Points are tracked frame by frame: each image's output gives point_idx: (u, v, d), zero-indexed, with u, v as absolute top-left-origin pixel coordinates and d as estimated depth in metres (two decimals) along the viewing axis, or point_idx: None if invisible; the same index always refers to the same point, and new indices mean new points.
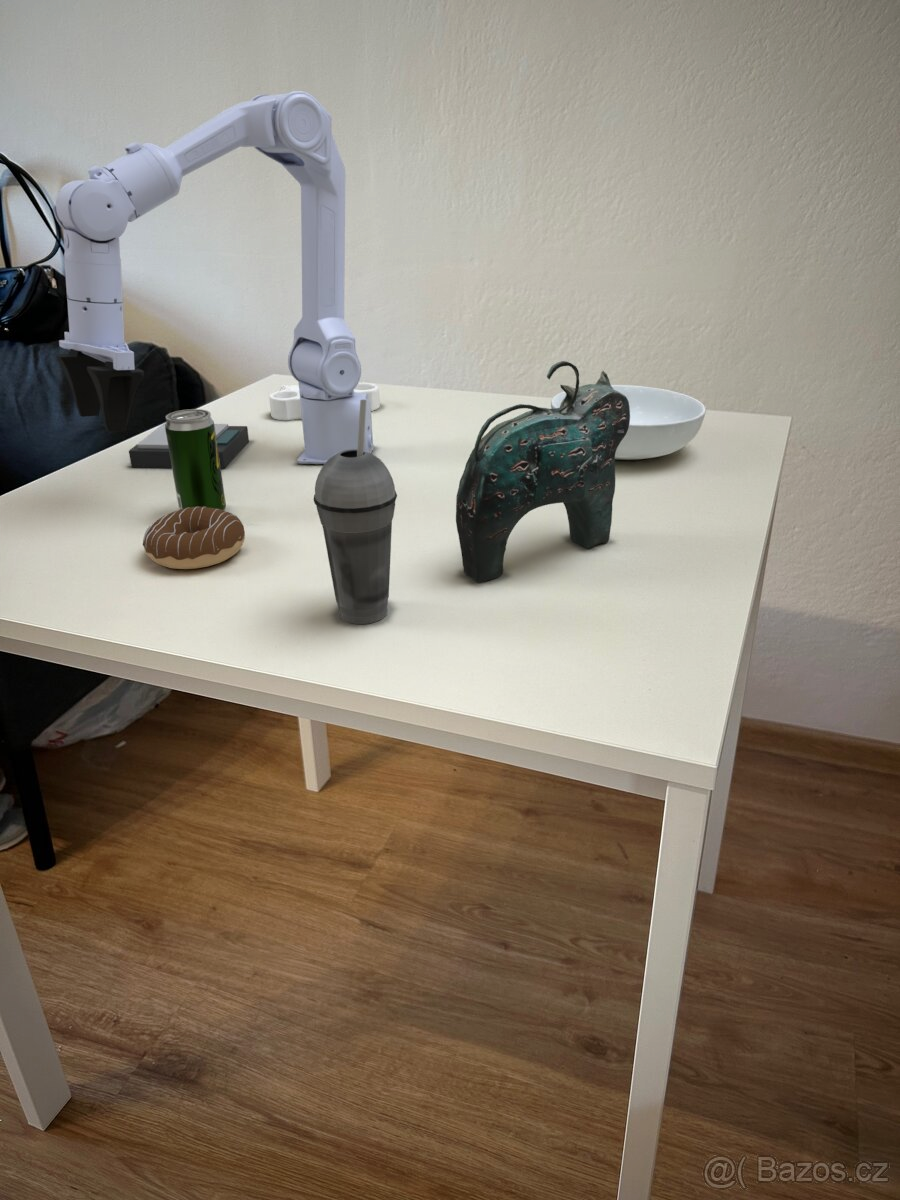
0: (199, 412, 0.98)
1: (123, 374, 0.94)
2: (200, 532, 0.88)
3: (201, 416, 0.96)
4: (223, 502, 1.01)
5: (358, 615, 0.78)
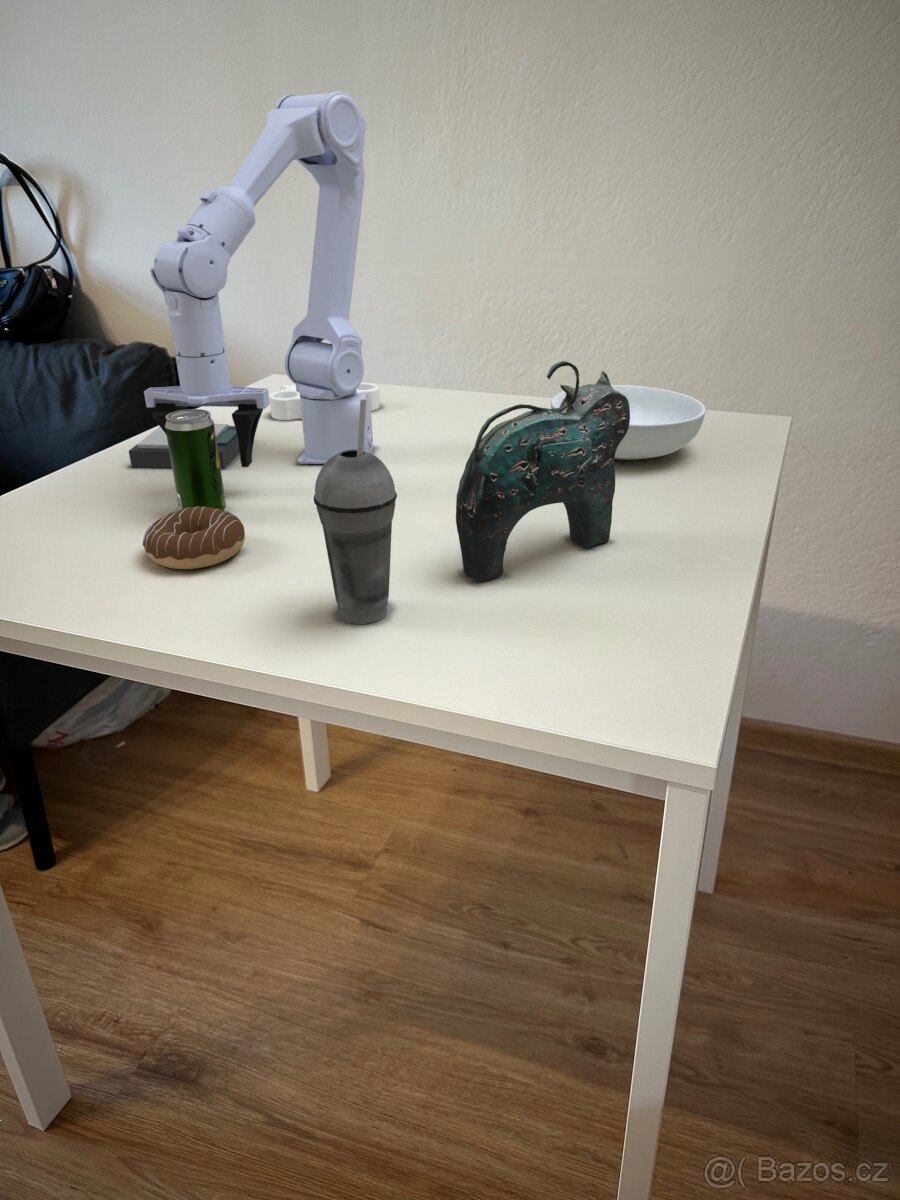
0: (199, 412, 0.98)
1: (259, 411, 1.03)
2: (200, 532, 0.88)
3: (201, 416, 0.96)
4: (223, 502, 1.01)
5: (358, 615, 0.78)
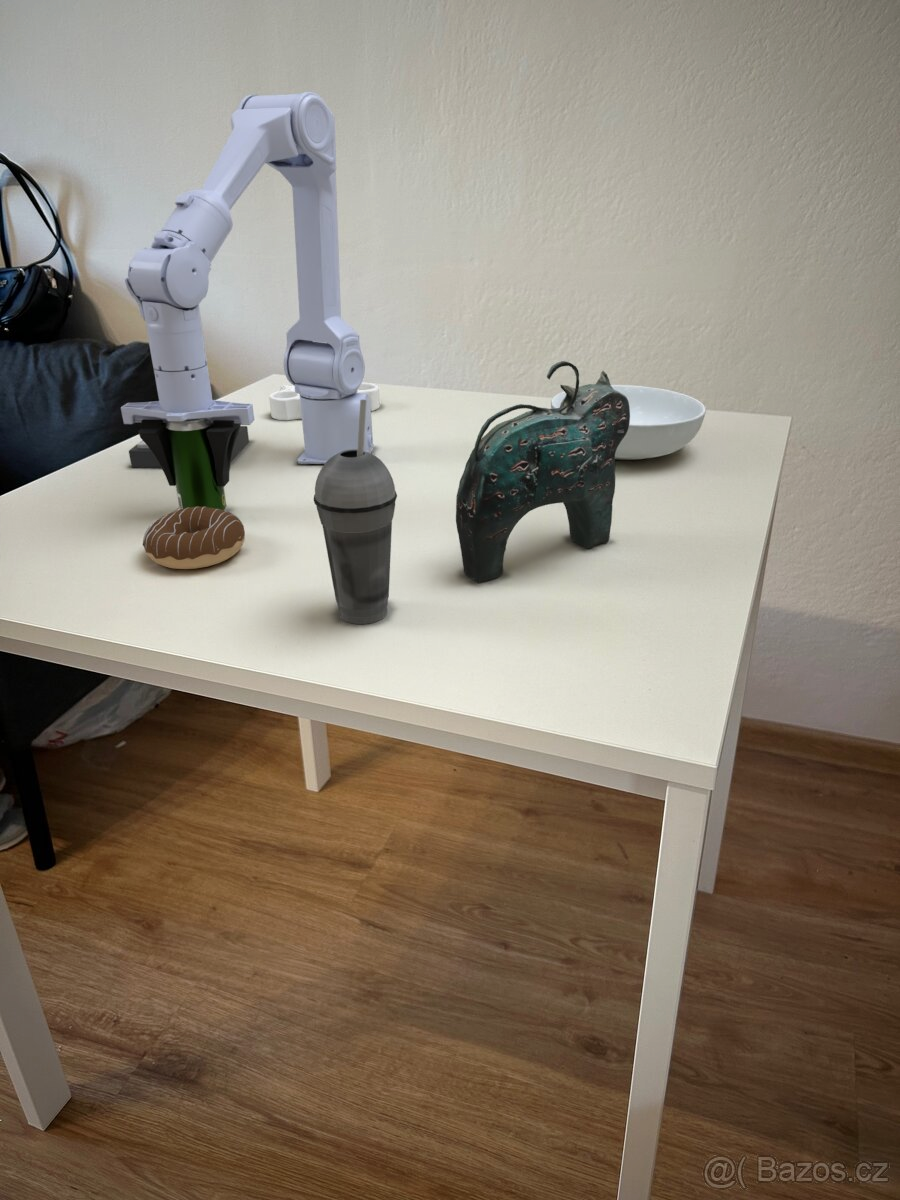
0: None
1: (236, 427, 0.97)
2: (200, 532, 0.88)
3: None
4: (223, 502, 1.01)
5: (358, 615, 0.78)
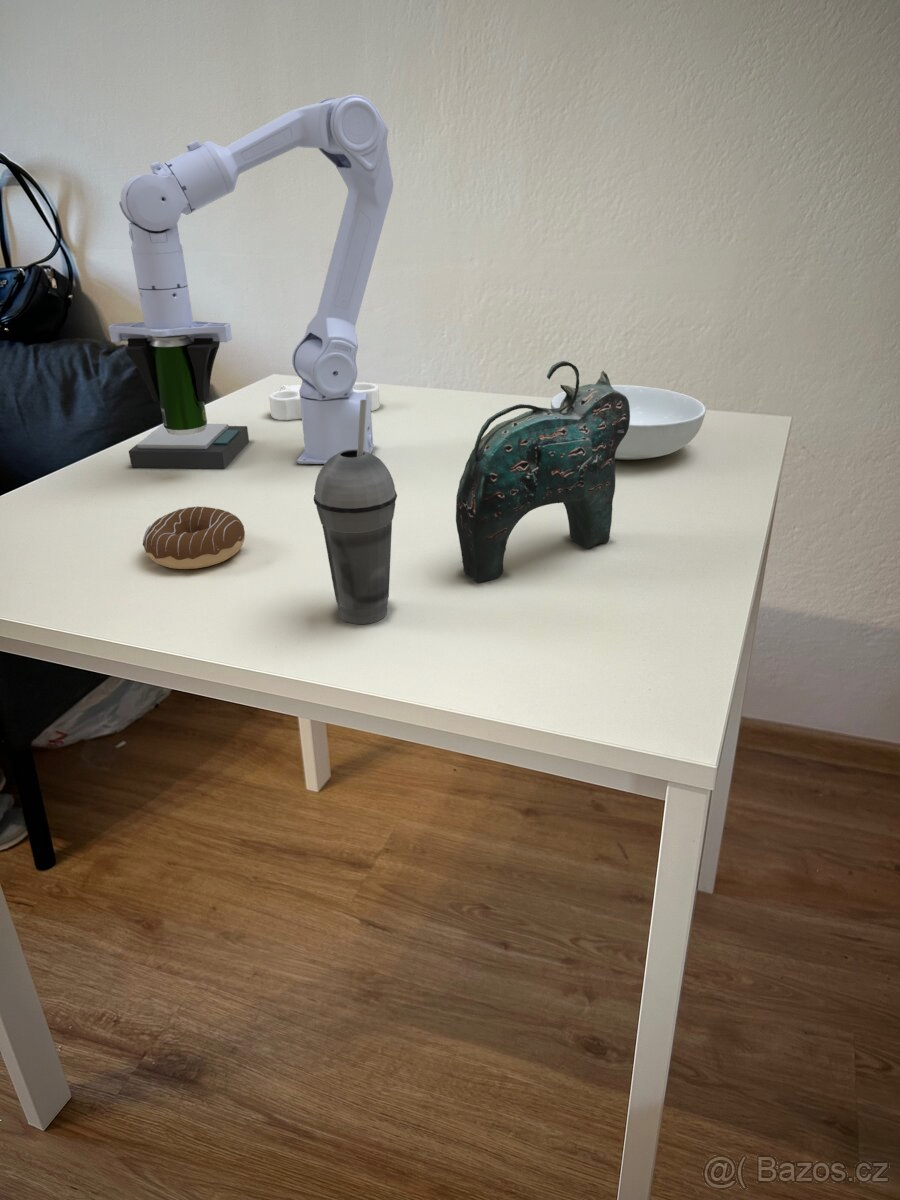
0: None
1: (215, 345, 1.06)
2: (200, 532, 0.88)
3: None
4: (204, 417, 1.10)
5: (358, 615, 0.78)
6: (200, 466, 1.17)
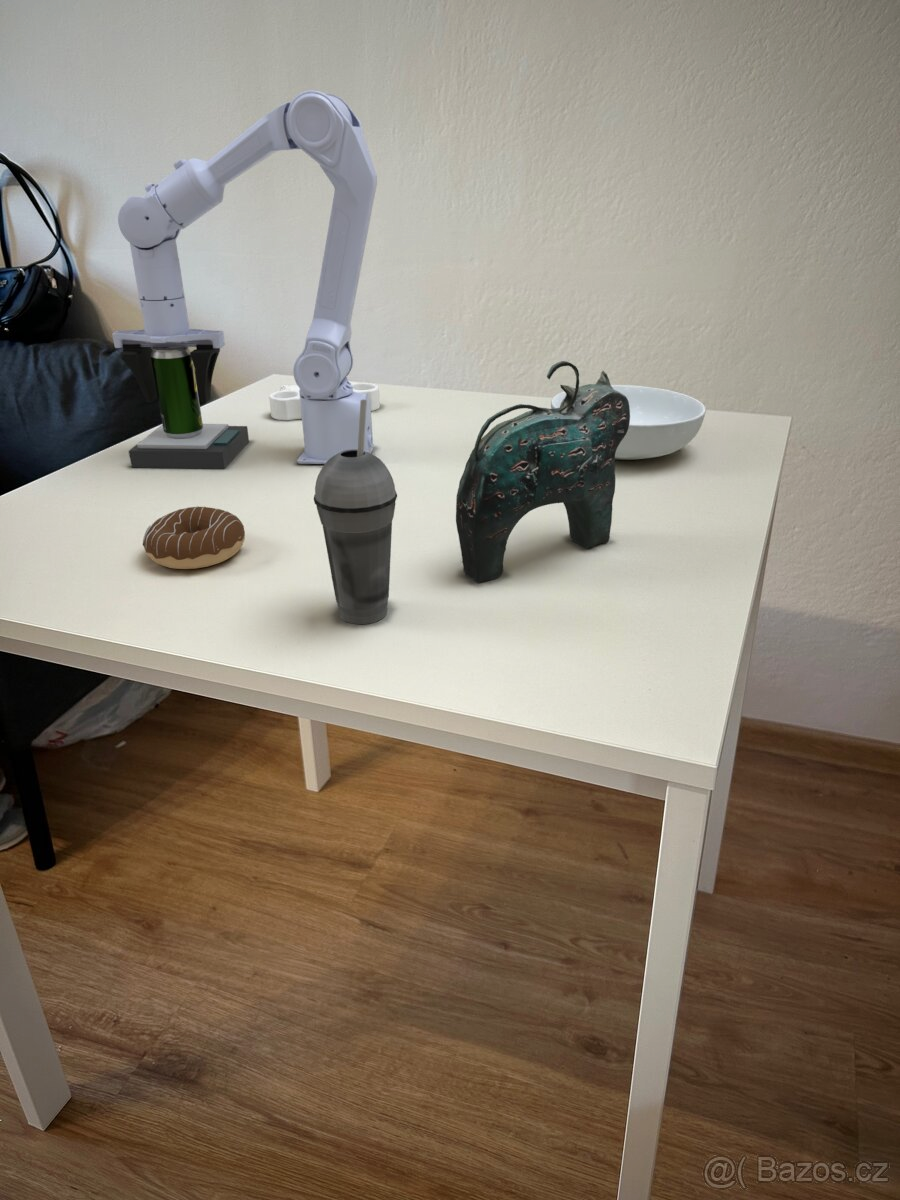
0: None
1: (215, 351, 1.16)
2: (200, 532, 0.88)
3: (181, 347, 1.15)
4: (200, 423, 1.20)
5: (358, 615, 0.78)
6: (200, 466, 1.17)
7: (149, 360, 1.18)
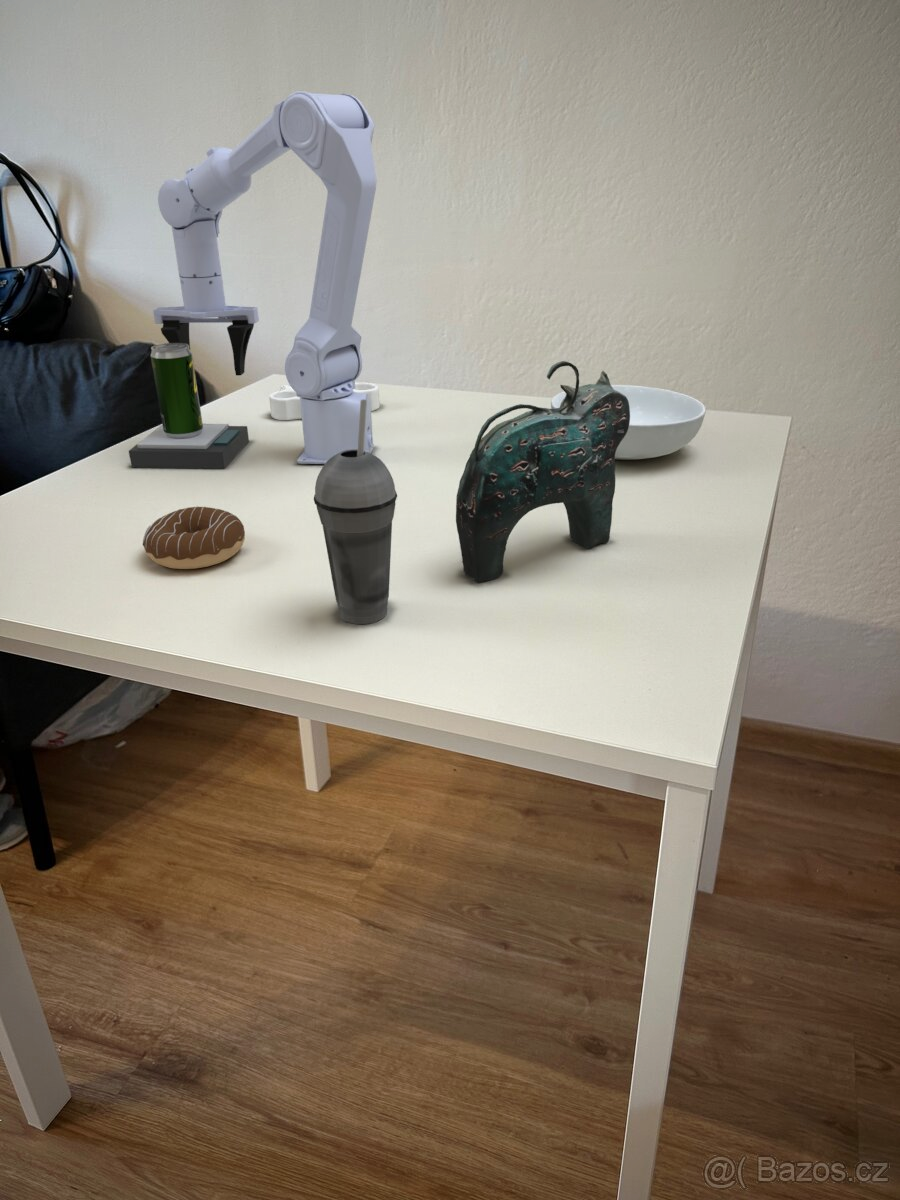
0: (179, 345, 1.17)
1: (250, 326, 1.22)
2: (200, 532, 0.88)
3: (181, 347, 1.15)
4: (200, 423, 1.20)
5: (358, 615, 0.78)
6: (200, 466, 1.17)
7: (187, 336, 1.25)
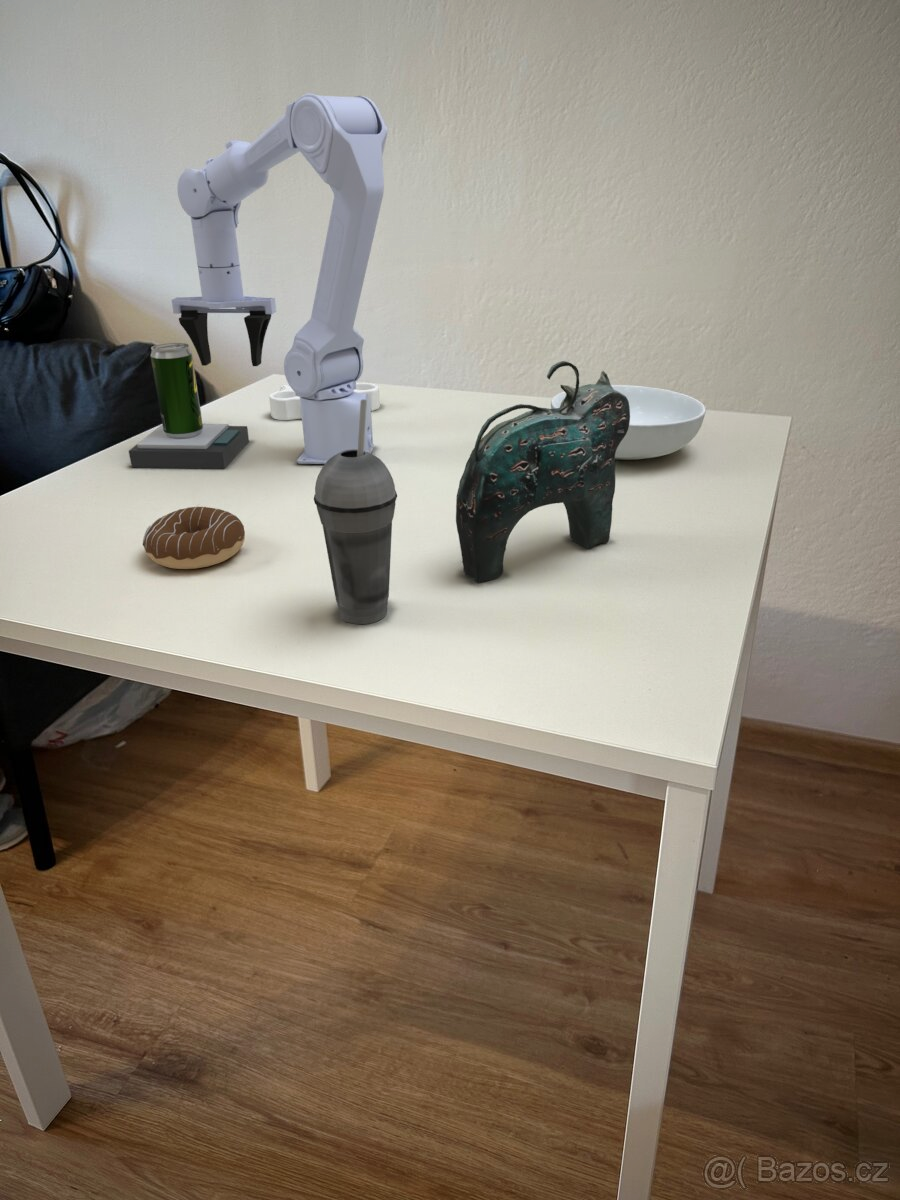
0: (179, 345, 1.17)
1: (267, 317, 1.22)
2: (200, 532, 0.88)
3: (181, 347, 1.15)
4: (200, 423, 1.20)
5: (358, 615, 0.78)
6: (200, 466, 1.17)
7: (205, 326, 1.25)
